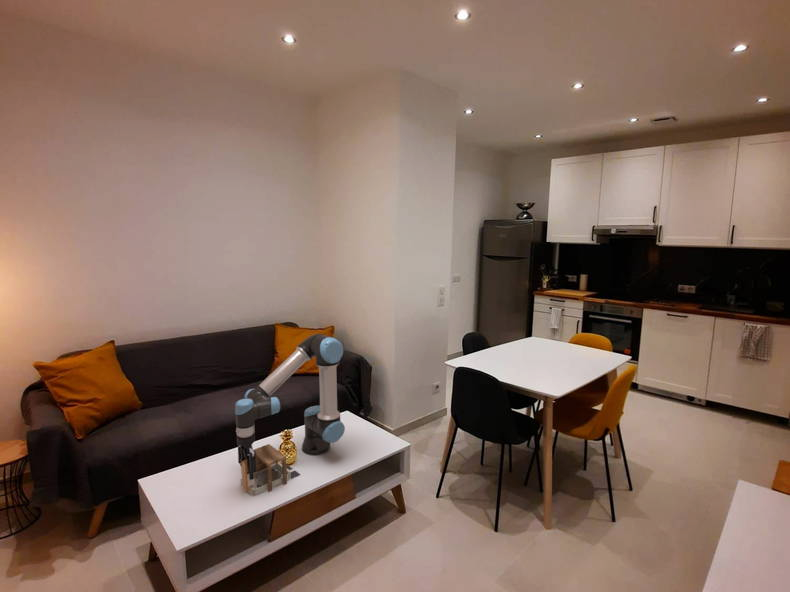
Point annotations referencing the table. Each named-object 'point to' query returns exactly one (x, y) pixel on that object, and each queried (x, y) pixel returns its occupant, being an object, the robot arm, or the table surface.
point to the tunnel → (270, 462)
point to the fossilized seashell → (264, 479)
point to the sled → (251, 488)
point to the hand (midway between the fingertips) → (247, 482)
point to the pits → (293, 472)
